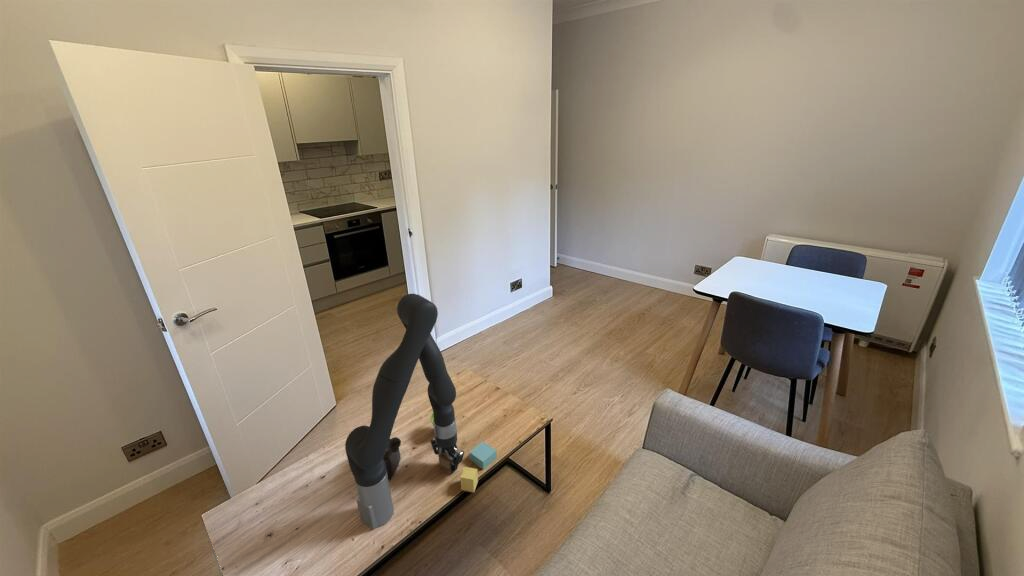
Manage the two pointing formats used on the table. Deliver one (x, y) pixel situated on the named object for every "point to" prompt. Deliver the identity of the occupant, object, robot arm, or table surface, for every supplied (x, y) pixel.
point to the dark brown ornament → (392, 456)
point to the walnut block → (445, 464)
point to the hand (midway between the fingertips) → (448, 466)
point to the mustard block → (469, 479)
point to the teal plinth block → (483, 455)
